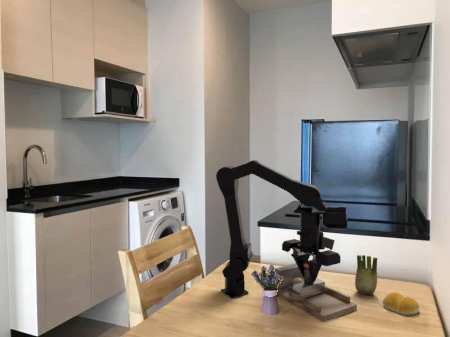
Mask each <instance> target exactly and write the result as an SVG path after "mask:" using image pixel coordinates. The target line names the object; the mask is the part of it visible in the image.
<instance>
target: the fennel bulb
mask: <svg viewBox="0 0 450 337" xmlns="http://www.w3.org/2000/svg"><path fill="white" fill-rule="evenodd" d="M356 261H357V262H356V266H357V267H356V274H355V279H354V281H355V282H354V285H355V289H356V291H357V292H359V293H360V294H362V295H366V296H367V295H371V296H372V295H373V294H375V291H376V290H377V285H378V257H375V256H374V257H372V256H371V255H364V254H361V255H360V254H357V255H356Z"/></svg>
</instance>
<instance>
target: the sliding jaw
mask: <svg viewBox="0 0 450 337" xmlns="http://www.w3.org/2000/svg"><path fill="white" fill-rule="evenodd" d="M308 261H309V260H308ZM308 261H304V262H303V267H304V282H302V283H299V284H295V285H293V292H294V293H295V294H297V295H299V296H301V297H303V298H306V297H310V296H313V295H316V294H319V293H323V292H325V286H326V281H325V280H322V279H320V278H318V277H317V278H316V280H315V282H312V281H311V278H310V272H309V267H308Z"/></svg>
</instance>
